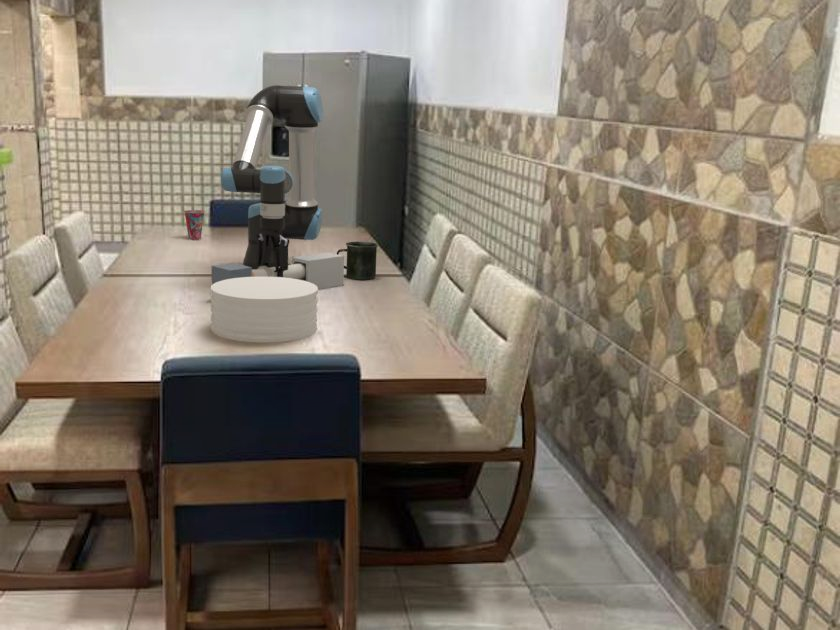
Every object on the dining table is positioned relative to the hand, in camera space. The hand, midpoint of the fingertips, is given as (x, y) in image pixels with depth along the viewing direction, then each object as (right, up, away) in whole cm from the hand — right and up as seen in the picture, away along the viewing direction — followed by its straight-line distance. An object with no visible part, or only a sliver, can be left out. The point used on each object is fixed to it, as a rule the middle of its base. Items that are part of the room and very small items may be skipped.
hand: (272, 289), depth 265 cm
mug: (+24, +5, +32) cm, 41 cm away
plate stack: (+5, -12, -39) cm, 42 cm away
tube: (+4, +2, +4) cm, 6 cm away
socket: (-10, -4, -11) cm, 16 cm away
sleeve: (+13, +2, +15) cm, 20 cm away
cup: (-50, +25, +95) cm, 110 cm away
